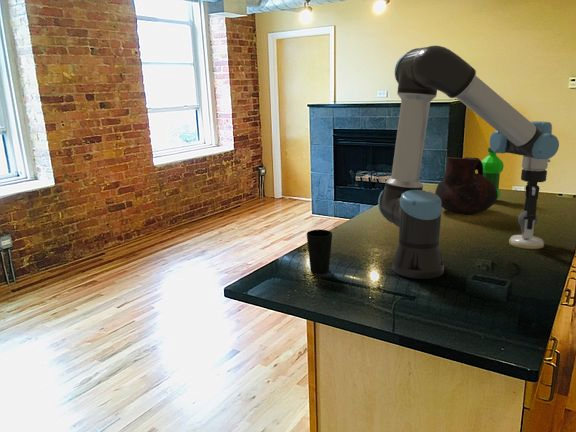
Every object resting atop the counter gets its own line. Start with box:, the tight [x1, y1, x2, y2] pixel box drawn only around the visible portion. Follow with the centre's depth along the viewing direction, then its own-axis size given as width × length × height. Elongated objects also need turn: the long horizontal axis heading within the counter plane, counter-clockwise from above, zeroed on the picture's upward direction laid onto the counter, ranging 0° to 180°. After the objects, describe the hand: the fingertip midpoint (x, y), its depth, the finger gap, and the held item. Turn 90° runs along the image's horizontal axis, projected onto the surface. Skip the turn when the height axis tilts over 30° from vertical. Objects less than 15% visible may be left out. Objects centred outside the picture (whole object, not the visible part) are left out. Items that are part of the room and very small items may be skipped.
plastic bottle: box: [480, 147, 505, 199], centre depth 223 cm, size 10×10×25 cm
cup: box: [306, 229, 333, 275], centre depth 143 cm, size 8×8×12 cm
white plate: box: [508, 234, 545, 250], centre depth 164 cm, size 11×11×2 cm
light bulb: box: [517, 210, 539, 239], centre depth 162 cm, size 6×6×10 cm
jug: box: [434, 156, 498, 216], centre depth 203 cm, size 25×25×25 cm
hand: (527, 233), depth 163 cm, fingers open, 9 cm apart
